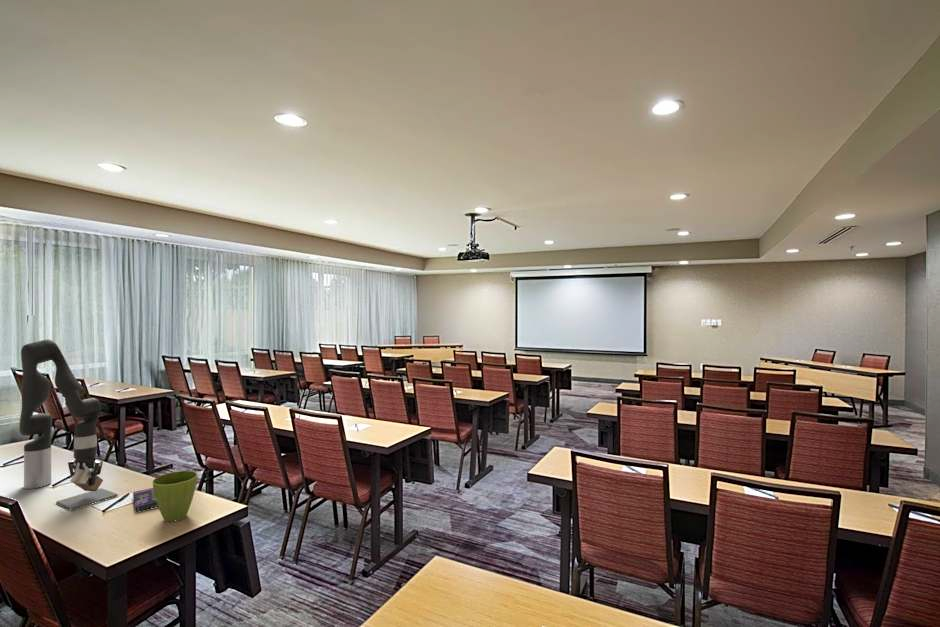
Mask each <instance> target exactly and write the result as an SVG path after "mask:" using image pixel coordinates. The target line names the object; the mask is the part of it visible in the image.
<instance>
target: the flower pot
mask: <svg viewBox="0 0 940 627" xmlns="http://www.w3.org/2000/svg"><path fill="white" fill-rule="evenodd" d="M198 475H199V474H198V472H196V471H192V470H178V471H173V472H169V473H165V474H162V475H159V476H157V477H155V478H154V479H153V480H152V488H153V489H154V494H155V498H156V502H157V505H158V507H159V508H158V510H159V512H160V515H161V517H162V518H163V520H165V521H164V522H166V521H174V522H176V521H175V520H178V521H180V520H179V519H181V520H183V519H184V517H185V518H186V517H187V516H188V512H189V510H190V507H191V504H192V501H193V499H194V495H195V491H196V487H197V482H198V481H197V480H198ZM182 518H183V519H182Z"/></svg>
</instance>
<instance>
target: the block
mask: <svg viewBox="0 0 940 627" xmlns="http://www.w3.org/2000/svg"><path fill="white" fill-rule="evenodd" d="M91 473H92V474H93V472H91ZM69 482H71V483H72V484H74V485H75V486H76V485H77V486H76V487H78V488H80V489H82V490H83V491H85V492H90V491H97V489H100V488H99V487H101V485H102V483H103V482H104V479H103V478H102V477H100V476H99V475H97V476H95V484H94V485H93V486H88V484H89V476H88V473H87V472H86V471H85V470H80V469H79V471H78V472H76V473H75V474H74V476H71V479H69Z"/></svg>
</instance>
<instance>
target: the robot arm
mask: <svg viewBox="0 0 940 627" xmlns="http://www.w3.org/2000/svg"><path fill="white" fill-rule="evenodd" d="M64 356H65V355H64V354H63V353H62V350H61V349H60V347H59V346H58V344H57V343H56V342H55V341H54V340H52V339H50V338H49V339H42V340H39V341H34V342H30V343H27V344H23V345H22V347H21V349H20V358H21V359H20V360H21V366H22V367H21V368H22V384H21V413H20V419H19V428H18V429H19V433H20V435H21V436H24V437H26V436H37V435H40V436H39V437H38V438H36V439H34V440H33V439H32V440H31V441H29V442H26V443H25V444H24V446H23V489H25V490H33V489H38V488H39V487H40V488H43V486H44V487H46V485H47V486H49V485H51V484H50V483H52V429H53V417H52V414H51V413H49V412H48V413H37V414H34V412H35V411H36V410H37V409H38V408H40V406H42V405H43V404H44V403H45V402H46V401H47V400H48V399H49V397H50V395H51V381H50V380H49V378H47V377H46V376H45V375H44V374H42V373H41V372H40V371H38V365H39V364H42V363H46V362H49V361H52V362H53V363H54V365H55V377H54V384H55V388H56V390H58V392H59V393H60V394H61V395H62V397H64V400H65V403H66V407H67V409H68V413H69V414H70V415H71V416H73V417H74V418H81V420H80V421H77V423H75V425H74V437H73V438H74V440H73V458H74V460H71V461H69V462H67V465H68V470H69V474H70V476H71V477H73V476H74V474H75V473H76V472H78V471H79V469H80V470H85V471H86V472H87V473H88V476H89V484H88V486H93V485H94V484H95V476H100V475H101V473H102V472H101V471H102V468H103V463H104V462H103V460H100V461H98V460H97V459H96V456H97V455H98V438H97V437H98V436H97V423H98V420H99V416H100V413H101V410H102V406H101V405H102V404H101V402H100V400H99V399H98V398H96V397H89V398H84V399H81V397H82V396H84V394H85V393H86V391H85V388H84V387H83V386H82V384H81V383H80V382H79V380H78V379H77V378H76V376H75V375H74V373H72V370H71V368H70V365H69V364H68V362H67V361H66V358H65V357H64ZM82 417H83V418H82ZM91 472H93V474H92V473H91ZM48 484H49V485H48ZM75 486H76V487H78V486H77V485H76V484H75Z"/></svg>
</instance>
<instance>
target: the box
mask: <svg viewBox="0 0 940 627" xmlns="http://www.w3.org/2000/svg"><path fill="white" fill-rule="evenodd" d="M132 498H134V500H133V505H135V506H134V510H135V511H136V512H137V513H140V512H139V511H141V512H144V511H143V510H146V511H148V510H147V509H150V510H152V509H151V508H155V507H158V505H157V502H156V498H155V494H154V489H153V487H150V488H147V489H141V490H136V491H133V492H132ZM155 509H156V508H155ZM136 512H135V513H136Z"/></svg>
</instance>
